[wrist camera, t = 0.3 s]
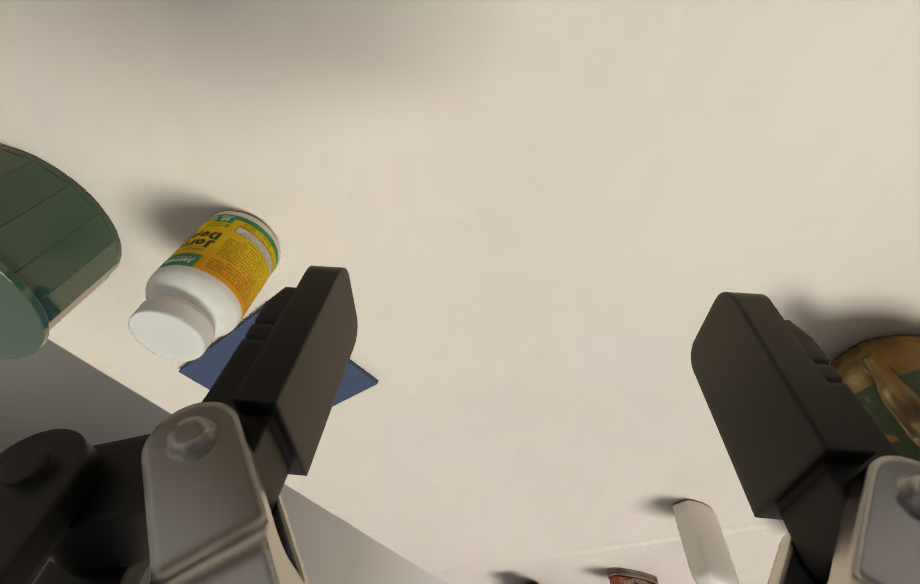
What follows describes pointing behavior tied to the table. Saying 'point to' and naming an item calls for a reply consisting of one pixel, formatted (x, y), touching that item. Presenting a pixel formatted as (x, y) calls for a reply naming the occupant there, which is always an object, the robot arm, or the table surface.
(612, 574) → the lighter
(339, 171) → the table surface
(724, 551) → the eye dropper bottle
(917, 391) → the cup
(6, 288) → the pot lid
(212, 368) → the flat panel
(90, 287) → the pot
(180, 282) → the supplement bottle
